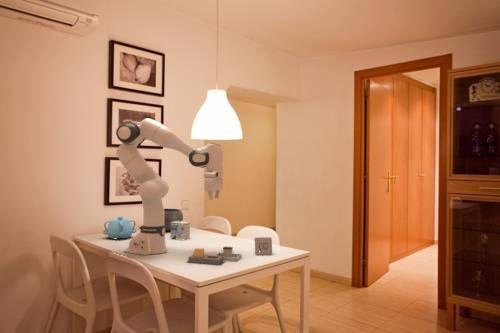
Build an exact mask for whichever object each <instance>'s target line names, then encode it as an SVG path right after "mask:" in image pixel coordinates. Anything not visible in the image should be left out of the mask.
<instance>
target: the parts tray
mask: <svg viewBox="0 0 500 333" xmlns="http://www.w3.org/2000/svg"><path fill="white" fill-rule="evenodd" d="M214 256H223V252H217V253H216V254H214ZM242 257H243V256H242V254H241V253H233V252H232V257H231V258H230V257H224V256H223V261H226V262H232V263H233V262H235V263H236V262H238V261H239V260H240V259H242Z"/></svg>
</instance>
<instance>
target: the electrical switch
mask: <svg viewBox="0 0 500 333" xmlns="http://www.w3.org/2000/svg"><path fill="white" fill-rule="evenodd" d="M254 255H255V256H272V255H273V240H272V237H268V236H267V237H263V236H261V237H260V236H259V237H254Z"/></svg>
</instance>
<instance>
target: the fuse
mask: <svg viewBox="0 0 500 333" xmlns="http://www.w3.org/2000/svg"><path fill="white" fill-rule="evenodd" d="M193 249H194V250H193V254H194V257H204V255H205V248H200V247H198V248H197V247H196V248H193Z"/></svg>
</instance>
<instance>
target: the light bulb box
mask: <svg viewBox="0 0 500 333" xmlns="http://www.w3.org/2000/svg"><path fill="white" fill-rule="evenodd" d="M190 232H191V222H190V221H184V220H183V221H174V222H171V231H170V236H169V237H170V238H177V239H176V240H178V239H184V240H183V241H186V240H189V239H190V238H191V236H190V235H191V234H190ZM188 238H189V239H188ZM185 239H186V240H185Z"/></svg>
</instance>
